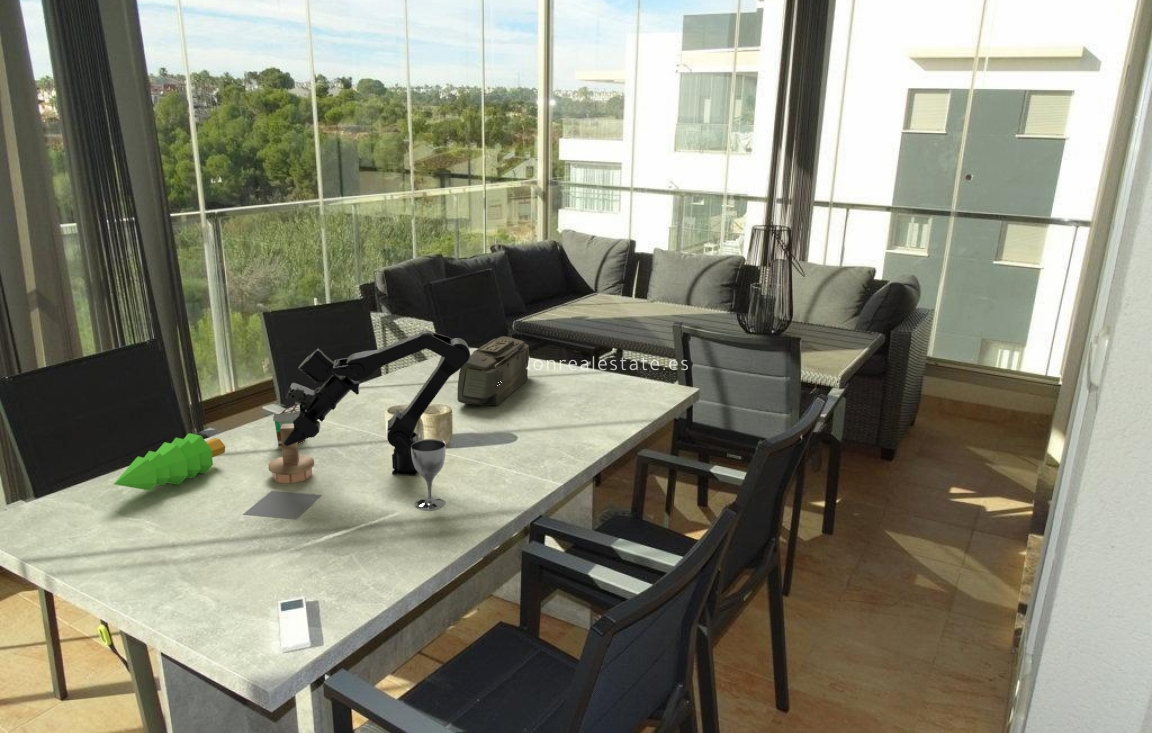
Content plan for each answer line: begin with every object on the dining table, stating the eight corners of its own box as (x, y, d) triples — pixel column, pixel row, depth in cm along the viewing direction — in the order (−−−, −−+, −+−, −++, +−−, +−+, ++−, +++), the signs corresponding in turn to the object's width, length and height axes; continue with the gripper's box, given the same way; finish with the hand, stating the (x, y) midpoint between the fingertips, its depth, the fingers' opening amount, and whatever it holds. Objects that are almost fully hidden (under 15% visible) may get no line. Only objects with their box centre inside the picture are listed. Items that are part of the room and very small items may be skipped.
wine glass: (431, 514, 184) (429, 453, 180) (406, 505, 188) (403, 446, 184) (453, 501, 190) (452, 443, 186) (428, 493, 195) (427, 436, 190)
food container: (295, 450, 220) (292, 416, 217) (275, 448, 221) (272, 414, 218) (318, 434, 232) (315, 402, 229) (298, 433, 233) (296, 400, 230)
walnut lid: (316, 456, 207) (313, 417, 205) (311, 473, 197) (308, 432, 194) (272, 459, 205) (268, 419, 202) (265, 475, 195) (261, 434, 192)
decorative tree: (224, 421, 206) (119, 456, 179) (239, 462, 207) (137, 503, 180) (195, 430, 211) (89, 466, 184) (210, 471, 212) (107, 512, 185)
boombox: (506, 387, 298) (490, 336, 296) (548, 376, 293) (532, 325, 290) (457, 418, 257) (438, 360, 254) (505, 407, 251) (486, 347, 249)
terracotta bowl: (317, 472, 206) (316, 460, 205) (301, 486, 197) (300, 474, 196) (284, 469, 207) (283, 458, 206) (267, 483, 198) (266, 471, 197)
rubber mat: (322, 497, 191) (322, 495, 191) (296, 521, 179) (296, 519, 179) (271, 493, 193) (271, 490, 193) (242, 516, 181) (242, 514, 180)
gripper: (309, 363, 204) (267, 406, 205) (300, 384, 187) (255, 431, 188) (342, 391, 208) (302, 432, 209) (337, 414, 190) (292, 459, 191)
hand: (287, 438), depth 199 cm, fingers open, 9 cm apart
